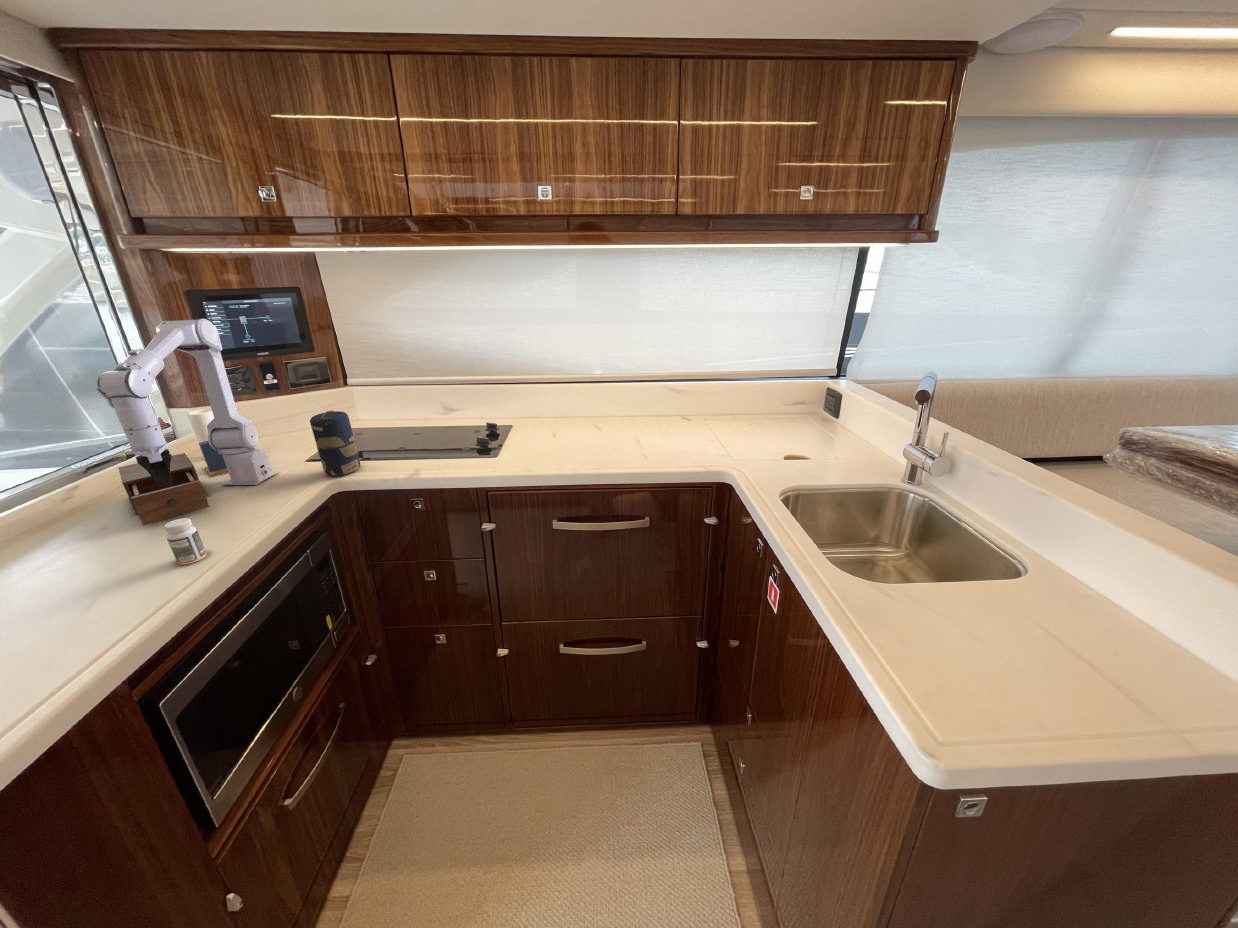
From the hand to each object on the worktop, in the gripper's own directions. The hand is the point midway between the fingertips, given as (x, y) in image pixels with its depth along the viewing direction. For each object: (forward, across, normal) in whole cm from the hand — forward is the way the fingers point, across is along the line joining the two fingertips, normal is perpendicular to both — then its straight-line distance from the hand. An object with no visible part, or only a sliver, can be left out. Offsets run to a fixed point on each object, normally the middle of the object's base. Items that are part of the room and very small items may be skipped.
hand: (165, 484), depth 112 cm
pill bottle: (+11, +21, -1) cm, 23 cm away
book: (+10, -38, +15) cm, 43 cm away
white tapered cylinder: (+11, -54, +15) cm, 57 cm away
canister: (+11, -6, +37) cm, 39 cm away
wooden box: (+10, -25, 0) cm, 27 cm away
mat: (+10, -38, +15) cm, 43 cm away
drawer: (+9, -12, 0) cm, 15 cm away
